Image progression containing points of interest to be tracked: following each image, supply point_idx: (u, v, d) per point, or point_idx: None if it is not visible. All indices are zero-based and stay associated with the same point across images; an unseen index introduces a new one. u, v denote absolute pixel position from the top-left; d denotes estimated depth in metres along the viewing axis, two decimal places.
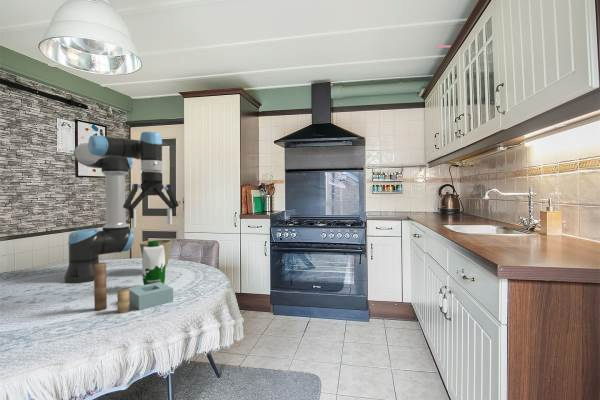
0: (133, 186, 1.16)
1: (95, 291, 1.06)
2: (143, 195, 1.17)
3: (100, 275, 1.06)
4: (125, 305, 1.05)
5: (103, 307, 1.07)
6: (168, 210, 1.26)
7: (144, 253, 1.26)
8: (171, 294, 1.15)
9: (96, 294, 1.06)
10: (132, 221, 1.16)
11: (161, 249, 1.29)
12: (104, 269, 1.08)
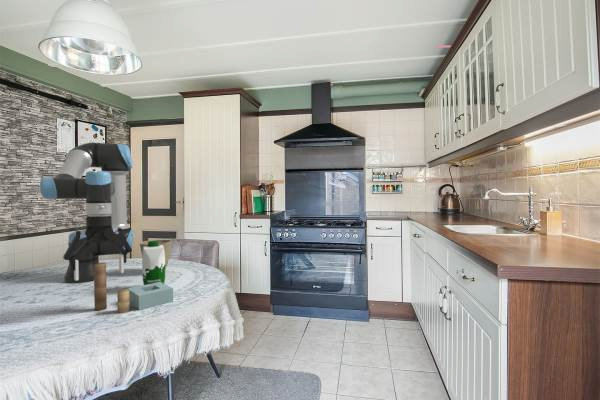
0: (75, 234, 1.02)
1: (95, 291, 1.06)
2: (87, 243, 1.04)
3: (100, 275, 1.06)
4: (125, 305, 1.05)
5: (103, 307, 1.07)
6: (120, 256, 1.12)
7: (144, 253, 1.26)
8: (171, 294, 1.15)
9: (96, 294, 1.06)
10: (74, 273, 1.03)
11: (161, 249, 1.29)
12: (104, 269, 1.08)
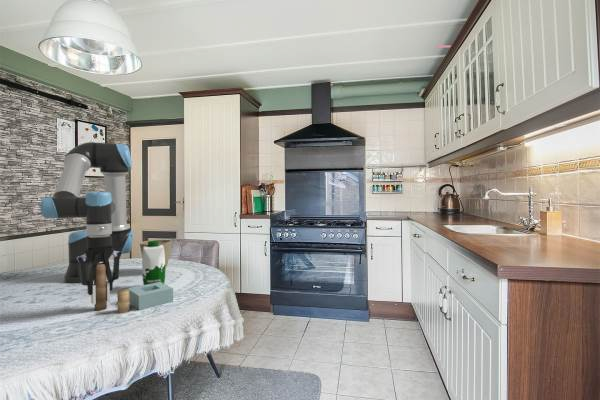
0: (78, 261, 1.03)
1: None
2: (94, 266, 1.05)
3: (100, 275, 1.07)
4: (125, 305, 1.05)
5: (103, 307, 1.07)
6: None
7: (144, 253, 1.26)
8: (171, 294, 1.15)
9: (96, 294, 1.06)
10: (91, 297, 1.07)
11: (161, 249, 1.29)
12: (104, 269, 1.08)
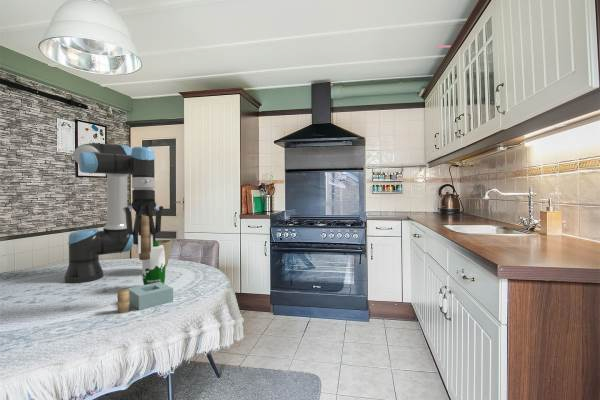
0: (125, 211, 1.09)
1: None
2: (139, 217, 1.11)
3: (144, 226, 1.12)
4: (125, 305, 1.05)
5: (147, 257, 1.13)
6: None
7: None
8: (171, 294, 1.15)
9: (141, 244, 1.12)
10: (136, 247, 1.13)
11: (161, 249, 1.29)
12: (148, 221, 1.13)
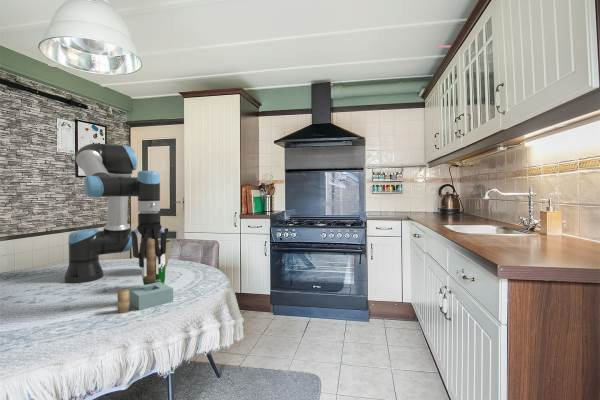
0: (131, 235, 1.10)
1: (146, 264, 1.14)
2: (145, 240, 1.13)
3: (150, 249, 1.14)
4: (125, 305, 1.05)
5: (153, 279, 1.14)
6: None
7: None
8: (171, 294, 1.15)
9: (147, 267, 1.13)
10: (142, 269, 1.14)
11: None
12: (154, 244, 1.15)
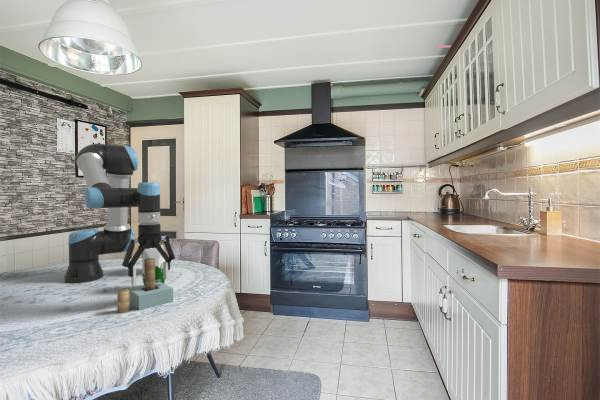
0: (130, 243, 1.10)
1: (146, 285, 1.14)
2: (141, 250, 1.12)
3: (150, 270, 1.14)
4: (125, 305, 1.05)
5: None
6: (164, 264, 1.19)
7: (144, 253, 1.26)
8: (171, 294, 1.15)
9: (147, 287, 1.14)
10: (132, 279, 1.11)
11: None
12: (154, 264, 1.15)
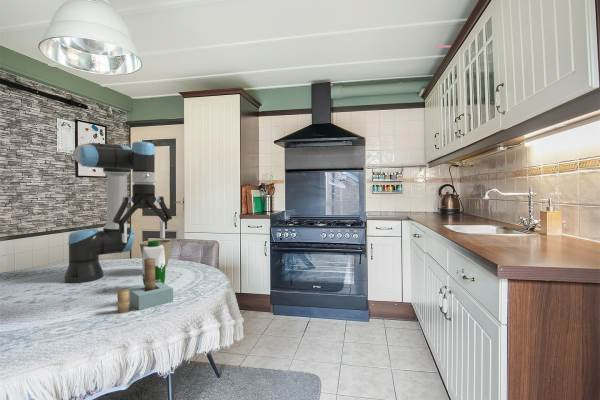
0: (124, 200, 1.10)
1: (146, 285, 1.14)
2: (134, 209, 1.12)
3: (150, 270, 1.14)
4: (125, 305, 1.05)
5: None
6: (161, 223, 1.20)
7: (144, 253, 1.26)
8: (171, 294, 1.15)
9: (147, 287, 1.14)
10: (122, 236, 1.11)
11: (161, 249, 1.29)
12: (154, 264, 1.15)
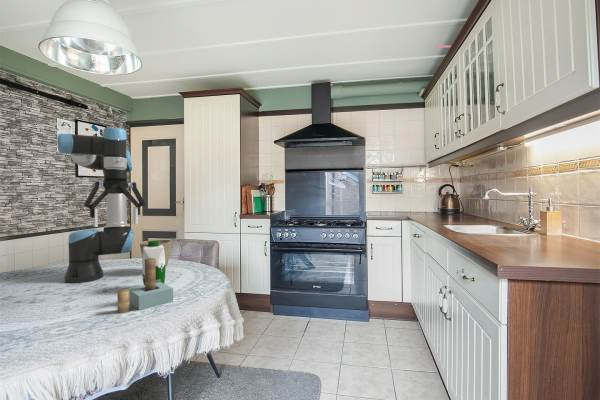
0: (94, 184, 1.11)
1: (146, 284, 1.14)
2: (105, 193, 1.13)
3: (151, 269, 1.14)
4: (125, 305, 1.05)
5: None
6: (134, 209, 1.21)
7: (144, 253, 1.26)
8: (171, 294, 1.15)
9: (147, 287, 1.14)
10: (93, 220, 1.12)
11: (161, 249, 1.29)
12: (154, 264, 1.15)
